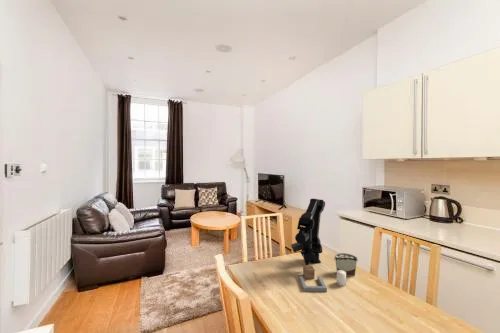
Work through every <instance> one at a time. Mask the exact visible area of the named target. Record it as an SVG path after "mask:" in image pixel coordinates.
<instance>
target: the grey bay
mask: <svg viewBox="0 0 500 333" xmlns="http://www.w3.org/2000/svg"><path fill="white" fill-rule="evenodd" d="M298 279H299V283H300V284H301V288H302V290H303V292H313V293H314V292H319V293H320V292H322V293H325V292H326V293H327V292H328V287H327V285H326V284H325V281H324V280H323V279H322V277H321V275H317V281H318V283H319V285H317V286H316V285H307V284H306V282H305V278H304V275H299V278H298Z"/></svg>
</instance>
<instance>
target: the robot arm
mask: <svg viewBox="0 0 500 333" xmlns="http://www.w3.org/2000/svg"><path fill="white" fill-rule="evenodd" d="M325 206H326V202H325V201H324V199H319V198H310V199H309V204H308V206H307V209H306V211H304V213H302V214H301V216H300V217H299V218H298V224H297V228H296V229H297V230H298V233H296V235H295V236H294V239H295V242H294V243H292V244H290V247H291V249H292V251H293V253H297V252H299V253H300V254H301V256H302V258H303V260H304V265H307V266H309V264H310V263H311V264H322V261H321V260H320V254H322V253H323V246H322V244H321V239H320V237H319V234H320V233H319V232H320V224H321V217H322V216H321V215H322V213H323V212H324V209H325Z"/></svg>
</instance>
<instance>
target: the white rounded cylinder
mask: <svg viewBox="0 0 500 333" xmlns="http://www.w3.org/2000/svg"><path fill="white" fill-rule="evenodd" d="M336 284H337V285H338V286H340V287H346V285H347V275H346V272H345V271H342V270H338V271H337V270H336Z"/></svg>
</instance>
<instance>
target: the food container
mask: <svg viewBox="0 0 500 333" xmlns="http://www.w3.org/2000/svg"><path fill="white" fill-rule="evenodd" d="M333 258H334V259H333V260H334V261H335V266H336V267H335V268H336V272H337V271H338V270H342V271H345V272H346V276H350V277H351V276H353V277H355V276H356V270H357V263H358V262H359V260H358V257H357V256H355V255H353V254H350V253H344V252H342V253H341V252H339V253H336V254H335V255H334V257H333Z"/></svg>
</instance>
